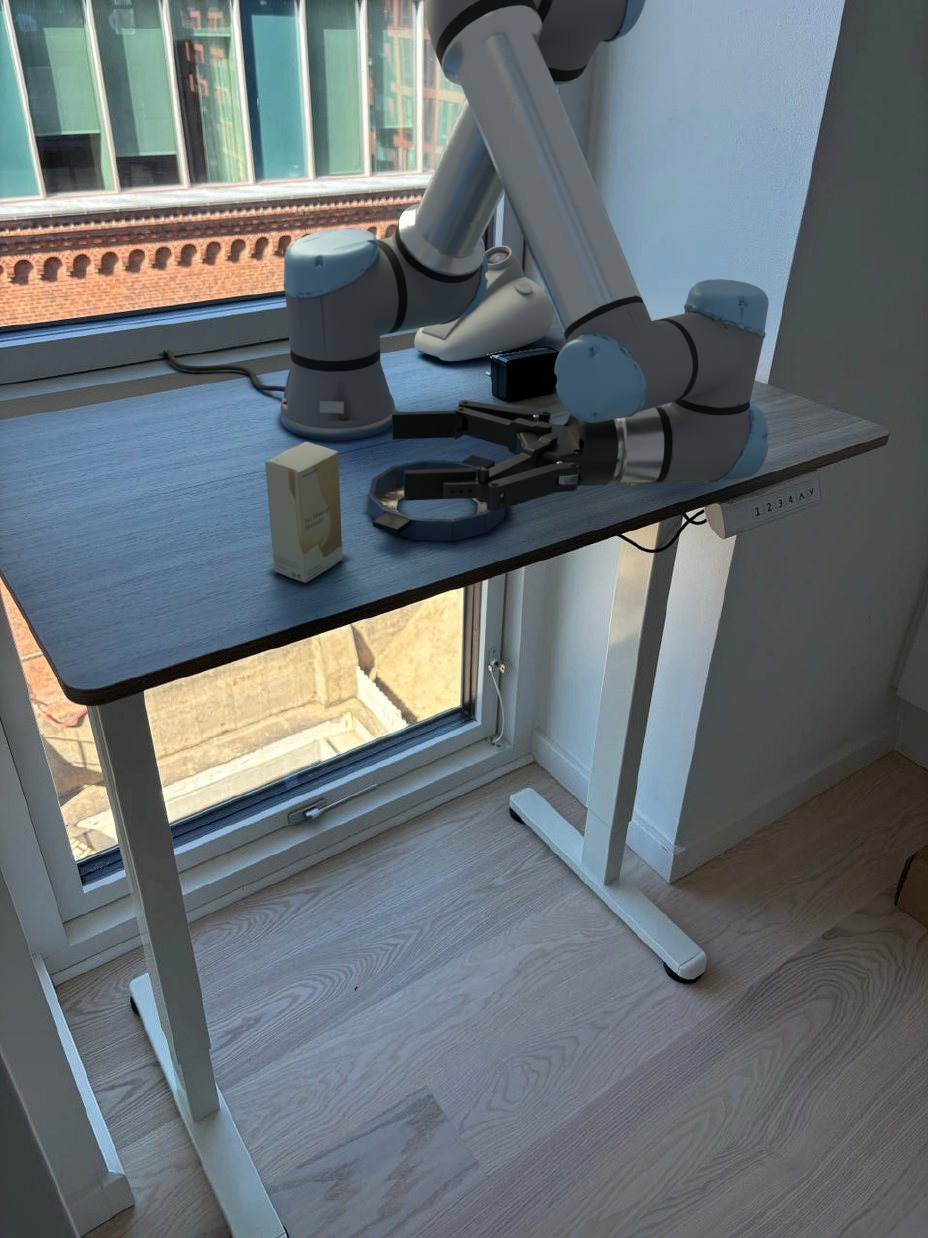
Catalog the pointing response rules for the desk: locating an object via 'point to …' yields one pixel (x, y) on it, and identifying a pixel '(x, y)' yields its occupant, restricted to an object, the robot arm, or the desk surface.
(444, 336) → the projector
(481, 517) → the handled polygonal ring
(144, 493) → the desk surface
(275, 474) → the cosmetic box
